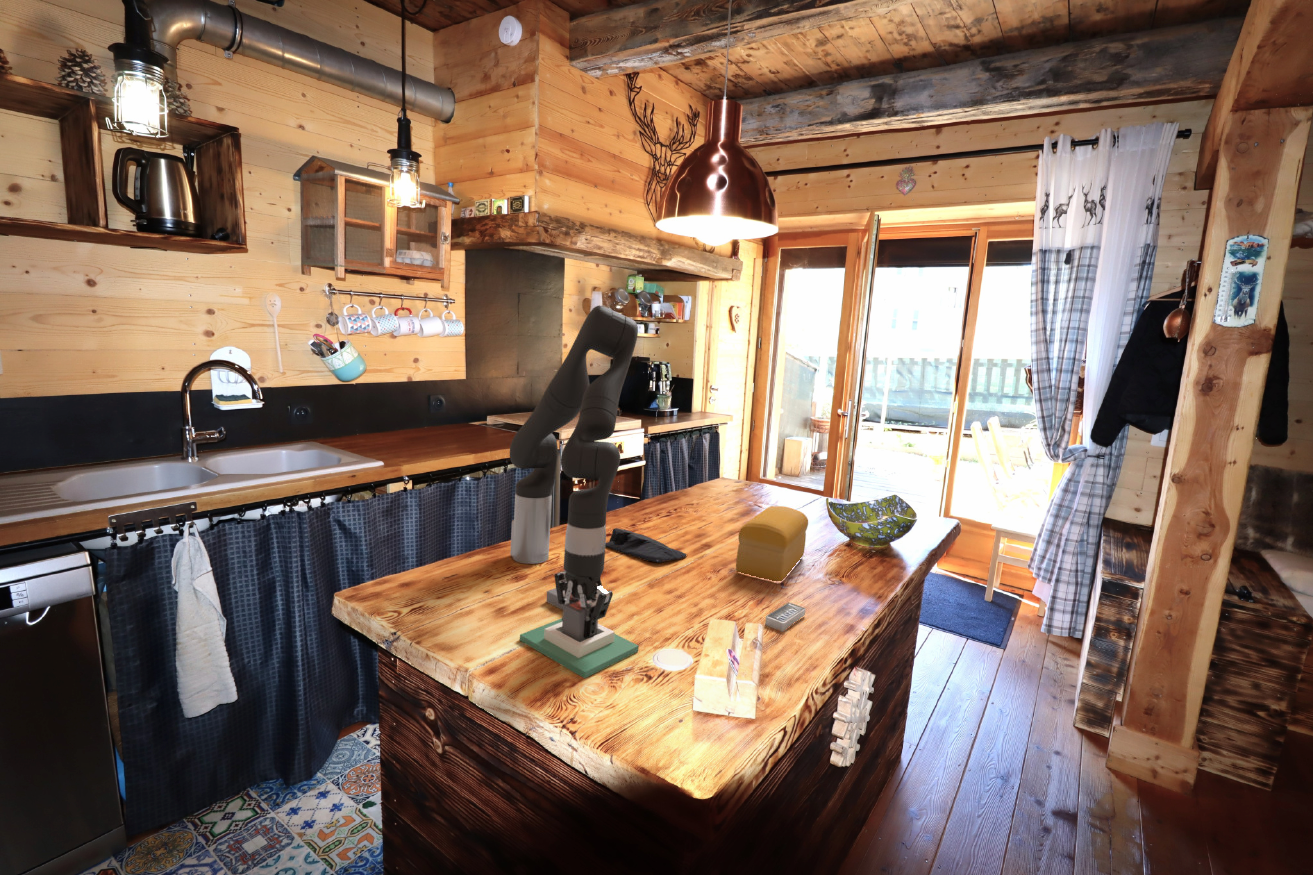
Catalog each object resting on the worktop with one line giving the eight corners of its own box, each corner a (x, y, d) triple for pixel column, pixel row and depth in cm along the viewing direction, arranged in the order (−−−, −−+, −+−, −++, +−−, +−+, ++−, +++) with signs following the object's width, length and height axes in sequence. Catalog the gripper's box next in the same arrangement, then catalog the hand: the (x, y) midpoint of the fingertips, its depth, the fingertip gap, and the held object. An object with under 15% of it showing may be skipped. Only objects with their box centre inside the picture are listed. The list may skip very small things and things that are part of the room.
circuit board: (519, 640, 119) (520, 624, 119) (573, 618, 130) (574, 604, 129) (584, 678, 108) (585, 661, 107) (638, 651, 119) (639, 635, 118)
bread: (761, 548, 185) (766, 499, 182) (804, 558, 179) (810, 508, 177) (733, 573, 163) (739, 518, 161) (781, 585, 158) (788, 528, 155)
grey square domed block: (546, 601, 137) (547, 588, 136) (573, 592, 143) (574, 579, 143) (571, 614, 132) (571, 600, 131) (597, 603, 138) (598, 590, 138)
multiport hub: (764, 626, 135) (765, 616, 134) (787, 611, 143) (788, 601, 143) (782, 633, 132) (783, 623, 132) (805, 617, 140) (806, 608, 140)
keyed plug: (561, 634, 118) (563, 603, 117) (584, 625, 122) (586, 595, 121) (577, 643, 115) (579, 611, 114) (599, 633, 120) (601, 603, 119)
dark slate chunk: (653, 570, 162) (654, 552, 161) (598, 546, 177) (599, 529, 176) (691, 558, 173) (693, 542, 172) (636, 536, 188) (638, 521, 187)
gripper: (627, 552, 114) (620, 639, 117) (574, 532, 123) (569, 614, 126) (597, 562, 108) (591, 653, 111) (544, 540, 117) (540, 625, 120)
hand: (579, 631), depth 119 cm, fingers closed on keyed plug, 4 cm apart
